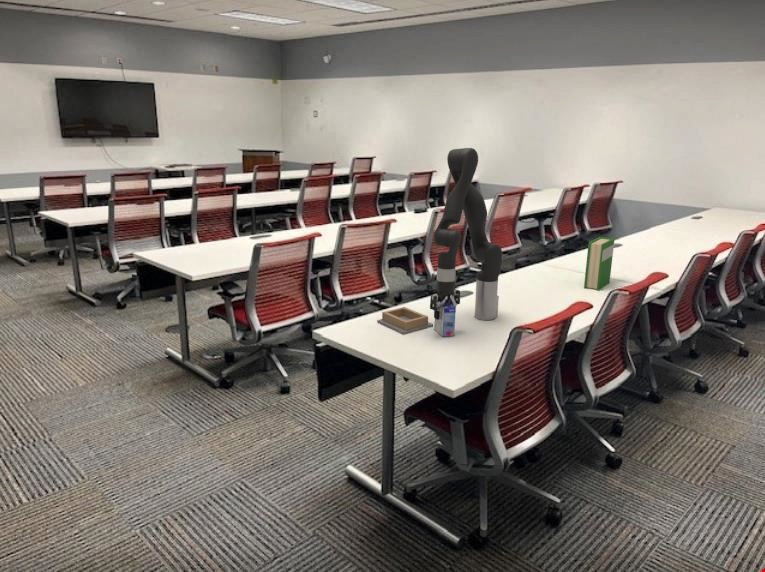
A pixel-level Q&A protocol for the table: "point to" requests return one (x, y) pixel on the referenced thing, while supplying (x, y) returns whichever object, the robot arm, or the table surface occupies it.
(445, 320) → the ink cartridge box
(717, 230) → the table surface
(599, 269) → the hardback book
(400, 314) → the pocket holder
